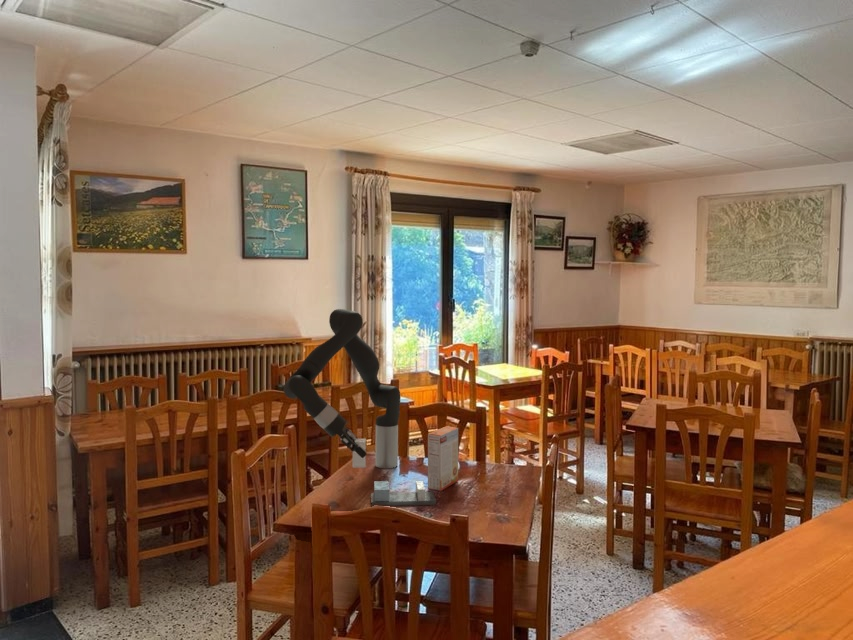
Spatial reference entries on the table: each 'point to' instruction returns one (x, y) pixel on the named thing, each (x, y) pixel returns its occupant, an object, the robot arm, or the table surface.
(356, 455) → the steel block
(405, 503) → the vise bed
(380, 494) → the sliding jaw
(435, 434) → the cracker box
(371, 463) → the table surface
